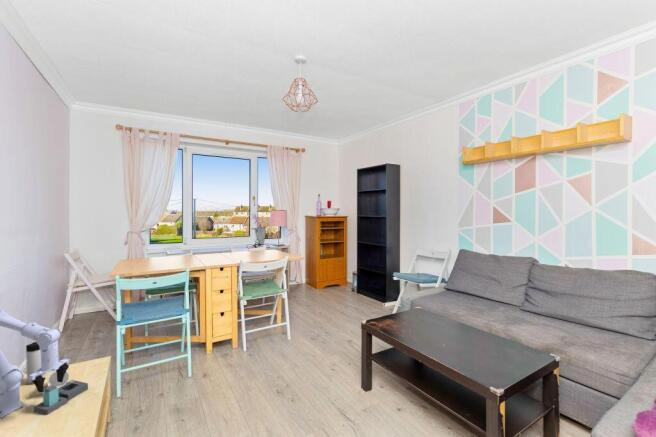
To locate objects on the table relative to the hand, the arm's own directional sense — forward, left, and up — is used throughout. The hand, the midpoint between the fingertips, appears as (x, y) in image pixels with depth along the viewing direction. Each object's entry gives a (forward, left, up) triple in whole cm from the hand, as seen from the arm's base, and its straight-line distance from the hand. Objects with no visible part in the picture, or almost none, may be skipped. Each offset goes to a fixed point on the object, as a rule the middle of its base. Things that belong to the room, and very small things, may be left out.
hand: (50, 386), depth 135 cm
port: (+9, +2, -9) cm, 13 cm away
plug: (0, 0, -9) cm, 9 cm away
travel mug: (+12, +28, -10) cm, 32 cm away
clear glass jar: (+13, +15, -6) cm, 21 cm away
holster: (0, 0, -9) cm, 9 cm away
